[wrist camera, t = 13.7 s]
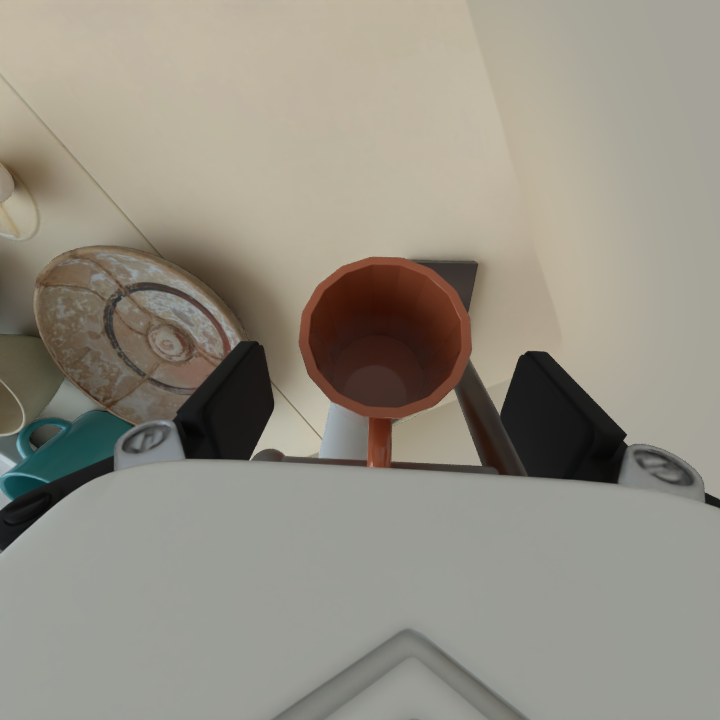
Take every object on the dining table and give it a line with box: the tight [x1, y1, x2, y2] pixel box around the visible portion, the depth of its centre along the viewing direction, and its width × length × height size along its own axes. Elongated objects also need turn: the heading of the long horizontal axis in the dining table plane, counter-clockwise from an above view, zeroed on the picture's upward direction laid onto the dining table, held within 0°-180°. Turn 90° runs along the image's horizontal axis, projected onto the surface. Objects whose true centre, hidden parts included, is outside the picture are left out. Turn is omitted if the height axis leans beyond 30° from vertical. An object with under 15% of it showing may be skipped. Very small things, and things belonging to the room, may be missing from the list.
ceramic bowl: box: [33, 246, 249, 426], centre depth 34 cm, size 23×24×5 cm
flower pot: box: [0, 334, 65, 436], centre depth 35 cm, size 12×12×9 cm
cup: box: [0, 411, 133, 501], centre depth 40 cm, size 9×12×11 cm
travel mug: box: [318, 402, 368, 460], centre depth 29 cm, size 6×7×20 cm
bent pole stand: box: [251, 260, 528, 477], centre depth 22 cm, size 10×15×24 cm, turn 90°
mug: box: [299, 257, 472, 468], centre depth 15 cm, size 11×7×9 cm
